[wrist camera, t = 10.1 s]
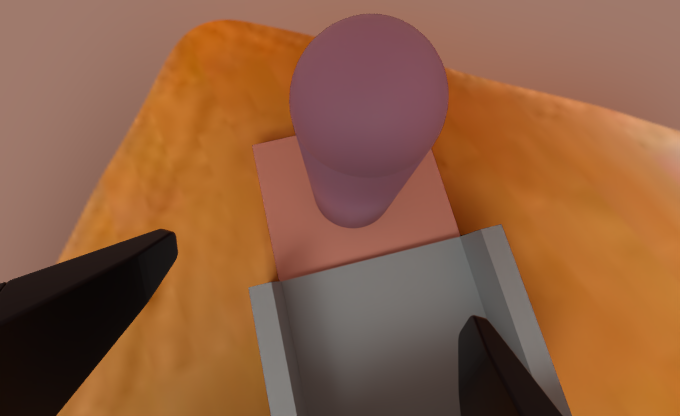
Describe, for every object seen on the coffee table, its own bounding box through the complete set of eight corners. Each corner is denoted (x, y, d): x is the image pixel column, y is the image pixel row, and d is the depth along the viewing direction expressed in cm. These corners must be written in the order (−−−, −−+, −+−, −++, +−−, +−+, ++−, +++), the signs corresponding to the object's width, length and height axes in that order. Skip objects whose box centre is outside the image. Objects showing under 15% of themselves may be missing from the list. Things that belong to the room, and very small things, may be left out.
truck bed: (303, 473, 18) (282, 591, 11) (243, 155, 23) (201, 101, 16) (526, 408, 19) (633, 482, 12) (426, 113, 23) (462, 45, 16)
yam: (348, 244, 20) (366, 186, 7) (298, 185, 21) (234, 37, 8) (407, 194, 21) (520, 60, 8) (356, 139, 22) (384, -63, 9)
